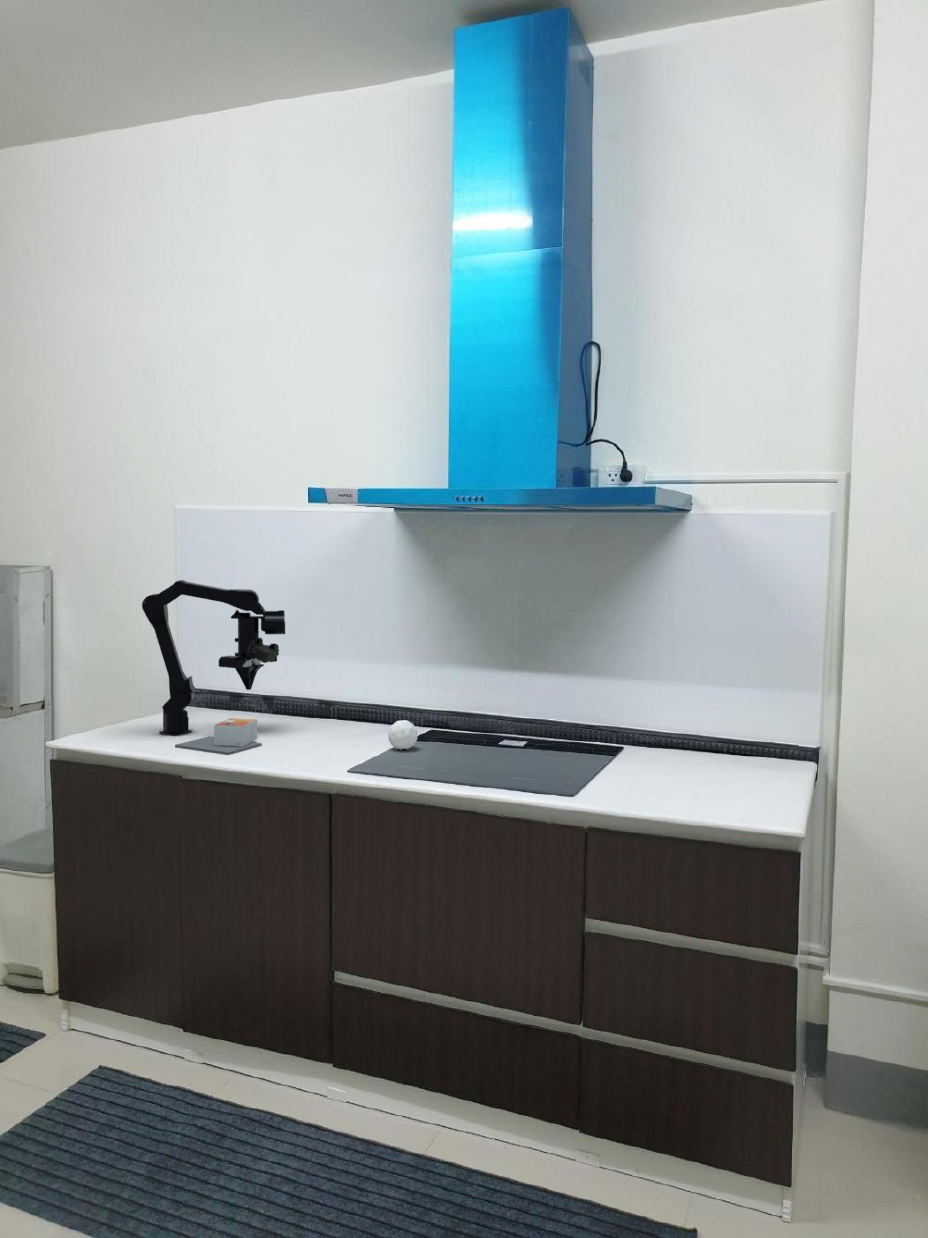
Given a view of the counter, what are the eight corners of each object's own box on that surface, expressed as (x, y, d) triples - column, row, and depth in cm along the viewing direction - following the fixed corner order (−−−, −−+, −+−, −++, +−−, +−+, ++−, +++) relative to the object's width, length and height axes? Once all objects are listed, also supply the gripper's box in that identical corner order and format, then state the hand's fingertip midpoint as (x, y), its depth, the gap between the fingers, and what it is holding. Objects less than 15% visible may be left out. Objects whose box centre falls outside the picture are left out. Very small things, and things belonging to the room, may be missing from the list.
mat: (174, 747, 250) (174, 744, 250) (209, 738, 261) (209, 736, 261) (228, 754, 242) (228, 752, 241) (261, 745, 253) (261, 743, 253)
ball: (410, 758, 252) (428, 735, 251) (391, 753, 246) (410, 729, 245) (395, 740, 257) (413, 717, 256) (376, 734, 250) (395, 711, 249)
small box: (257, 718, 258) (243, 726, 247) (257, 739, 258) (243, 747, 248) (229, 717, 259) (213, 724, 248) (229, 738, 259) (213, 746, 249)
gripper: (248, 639, 257) (249, 696, 258) (292, 633, 273) (292, 687, 275) (216, 636, 262) (217, 693, 263) (261, 631, 278) (261, 684, 280)
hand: (248, 689), depth 270 cm, fingers closed
